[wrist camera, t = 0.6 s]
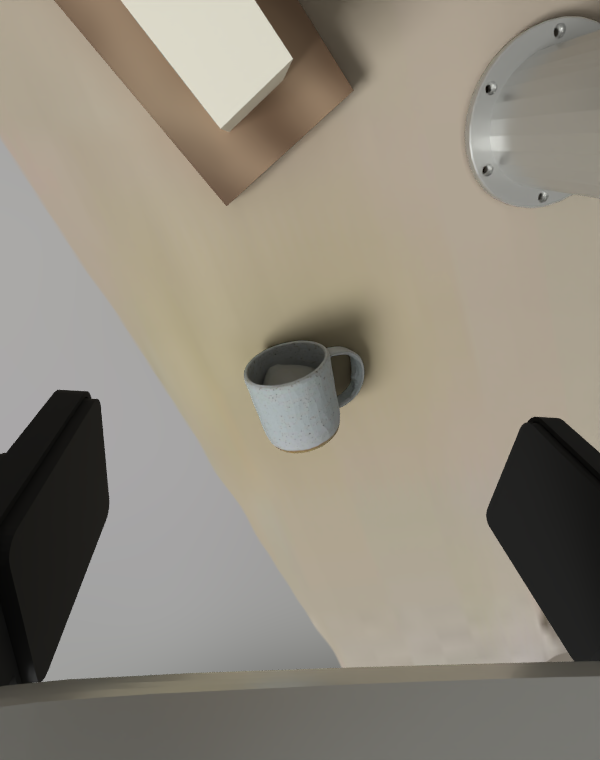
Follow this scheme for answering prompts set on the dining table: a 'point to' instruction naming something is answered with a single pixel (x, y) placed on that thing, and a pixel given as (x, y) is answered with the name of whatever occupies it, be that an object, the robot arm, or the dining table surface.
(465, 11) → the dining table surface
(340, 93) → the shelf board
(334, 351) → the ceramic mug
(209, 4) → the carton
